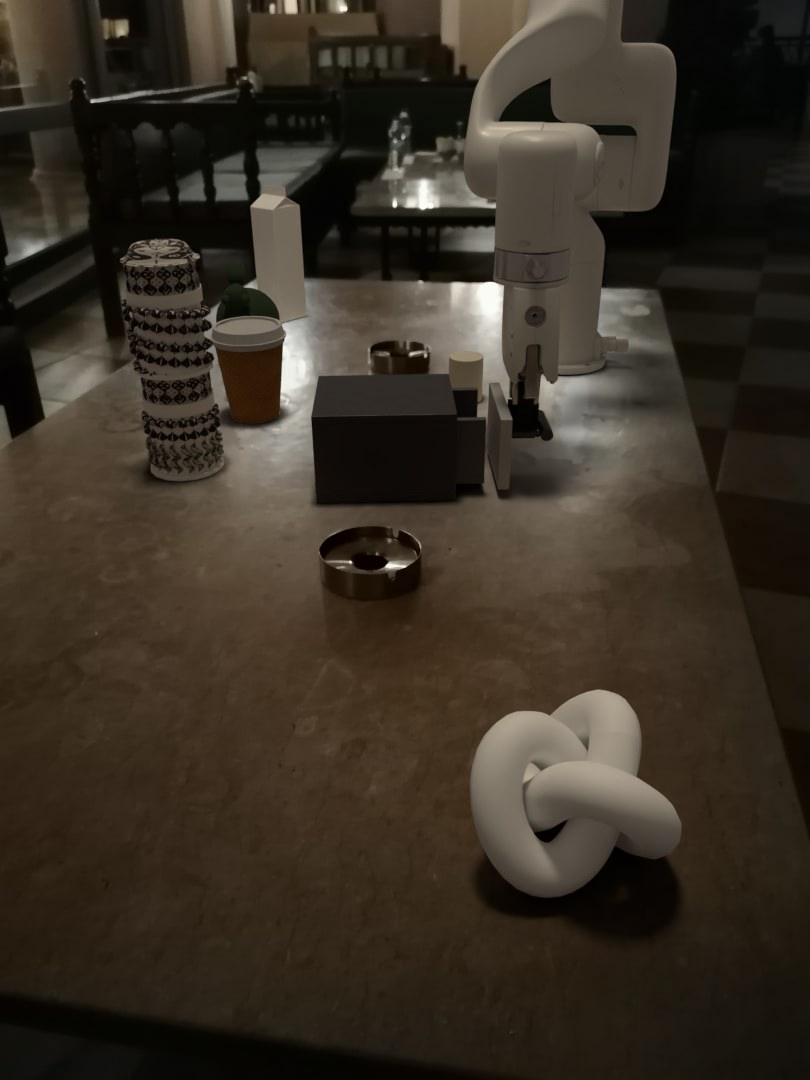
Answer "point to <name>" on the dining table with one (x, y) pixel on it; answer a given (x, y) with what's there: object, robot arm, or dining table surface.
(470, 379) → the cylinder
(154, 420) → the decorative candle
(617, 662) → the dining table surface
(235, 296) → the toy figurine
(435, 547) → the dining table surface
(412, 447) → the dark gray cabinet
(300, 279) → the milk
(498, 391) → the drawer
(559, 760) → the white knot sculpture
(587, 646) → the dining table surface
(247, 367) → the disposable coffee cup
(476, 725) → the dining table surface
